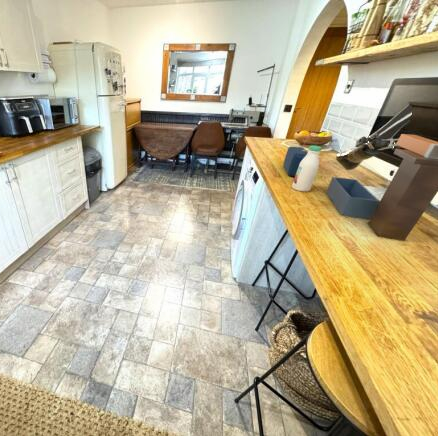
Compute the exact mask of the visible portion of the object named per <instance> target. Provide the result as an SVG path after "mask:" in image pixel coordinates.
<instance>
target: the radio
mask: <svg viewBox="0 0 438 436" xmlns="http://www.w3.org/2000/svg"><path fill="white" fill-rule="evenodd" d="M307 138H308V137H305V140H304V142H303V146H289V147H288V148H287V150H286V154H285V157H284V160H283V163H282V166H283V168H284V170H285V172H286V175H287V176H288V177H292V178H293V177H294V178H295V176H296V173H297V170H298V167H299V165H300V162H301V161H302V160H303V159H304V157H305V156H306V155H307V154H308V150H306V149H305V148H304V146H305V143H306V141H307Z"/></svg>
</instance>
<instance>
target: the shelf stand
mask: <svg viewBox="0 0 438 436" xmlns="http://www.w3.org/2000/svg"><path fill="white" fill-rule="evenodd" d="M393 155H396V156H398V158H402V160H401V163H400V164H399V167H398V168H397V169H396V172H395V173H394V175H393V177H392V179H391V181H390V182H389V184H388V186H387V187H386V190H385V191H384V193H383V195H382V197H381V199H380V200H379V201H380V202H379V204H378V206H377V208H376V209H375V211H374V213H373V215H372V216H371V218H370V219H368V222H367V225H368V226H369V227H370V229H371V230H372V231H373V232H374V234H375V235H376V236H377V237H379V238H385V239H390V240H396V241H403V242H404V241H406V240H407V238H408V236H409V235H410V233H411V232H412V231H413V229H414V228H415V226H416V225H417V223H418V222H419V220H420V219H421V217H422V216H423V214H424V213H425V212H426V210H427V208H428V207H429V206H430V204H431V203H432V201H433V199H434V198H435V197H436V195H437V194H438V159H433V158H426V157H424V156H422V155H419V154H417V153H415V152H412V151H410V150H408V149H402V148H399V149H396V150H394V152H393Z"/></svg>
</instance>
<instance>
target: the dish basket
mask: <svg viewBox="0 0 438 436" xmlns="http://www.w3.org/2000/svg"><path fill="white" fill-rule="evenodd" d="M325 193H326V195H327V196H328V198H329V200H330V201H331V202H332V204H333V205H334V207H335V208H336V209H337V211H338V212H339V214H340V215H341V216H345V217H352V218H356V219H357V218H359V219H365V220H370V218H371V216H372V215H373V213H374V211H375V209H376V208H377V206H378V204H379V202H380V200H379V198H377V197H376V196H375V195H374V194H373V193H372V192H371V191H370V190H369V189H368V188H366V186H364V185H363V183H361V182H360V181H359V180H358V179H353V178H347V177H336V176H332V177H331V179H330V182H329V184H328V186H327V189H326V192H325Z"/></svg>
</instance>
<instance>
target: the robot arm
mask: <svg viewBox="0 0 438 436" xmlns="http://www.w3.org/2000/svg"><path fill="white" fill-rule="evenodd" d="M412 109H413V107H412V106H411V105H409V104H407V105H406V106H405V107H404V108H403V109H401V110H400V111H399V112H398V113H397V114H396V115H395V116H393V117H392V118H391V119H390V120H388V122H386V124H384V125H383V126H382V127H381V128H379V129H378V130H377V131H375V132H374V133H372V134H371V135H369V136H367V137H366V136H361V137H360V138H358V139H357V140H356V142H355V145H354V147H353V148H346V149H344V150H341V151H339V153H337V154H336V156H335V160H336V162H337V163H338V164H340V165H341V167H342V168H343V169H344V170H346V171H353V170H355V169H357V168H358V166H359V165H361V163H363V161H366V160H368V159H371V158H374V157H376V156H378V155H380V154H381V153H382V152H383V151H384V150H388V149H391V151H395V150H396V149H402V148H403V147H400V146H398V145H396V144H397V142H398V140H399V138H394V136H396V134H397V133H398V132H399V131H400V130H401V129H402V128H403V127H404V126H406V125H407V124H408V123H409V122H410V119H411V115H412Z"/></svg>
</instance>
